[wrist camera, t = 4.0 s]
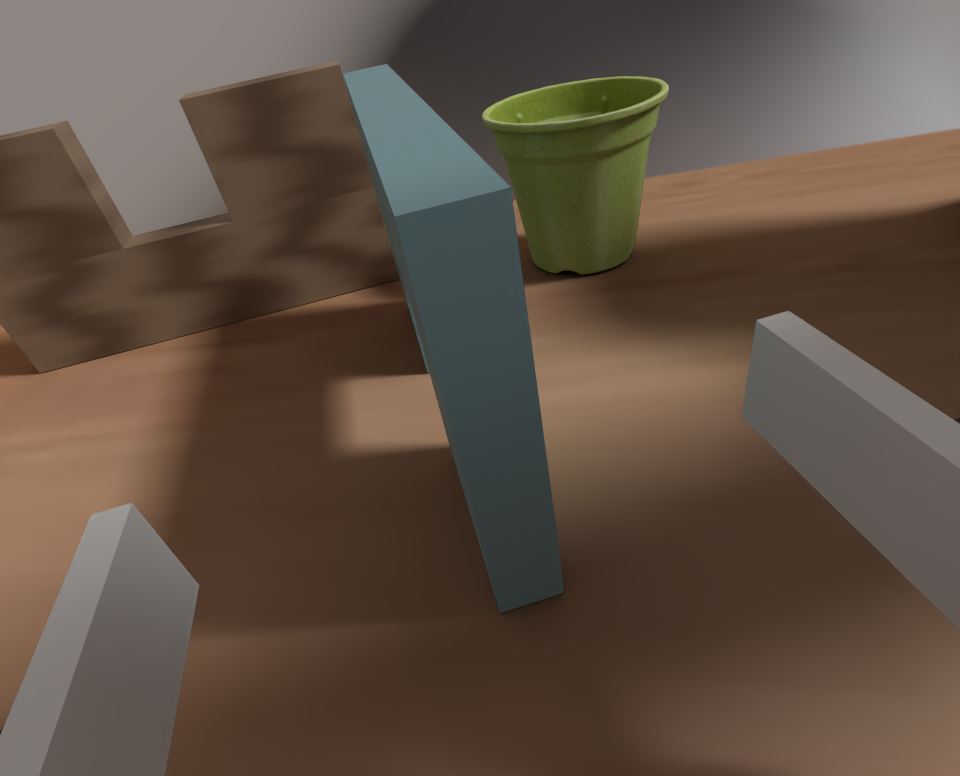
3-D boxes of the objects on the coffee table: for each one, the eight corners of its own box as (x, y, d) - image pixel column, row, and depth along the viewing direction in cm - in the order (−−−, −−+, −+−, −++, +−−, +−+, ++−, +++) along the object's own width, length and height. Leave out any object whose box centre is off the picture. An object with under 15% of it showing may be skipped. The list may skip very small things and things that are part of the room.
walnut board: (395, 266, 37) (338, 60, 30) (399, 279, 36) (339, 64, 28) (52, 356, 35) (-99, 157, 28) (39, 373, 33) (-124, 167, 26)
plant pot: (480, 253, 37) (455, 109, 31) (604, 210, 39) (599, 69, 34) (552, 310, 30) (535, 136, 24) (698, 254, 32) (711, 83, 26)
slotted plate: (441, 298, 33) (386, 64, 25) (564, 592, 17) (510, 187, 9) (408, 307, 32) (342, 73, 25) (499, 613, 16) (394, 216, 9)
